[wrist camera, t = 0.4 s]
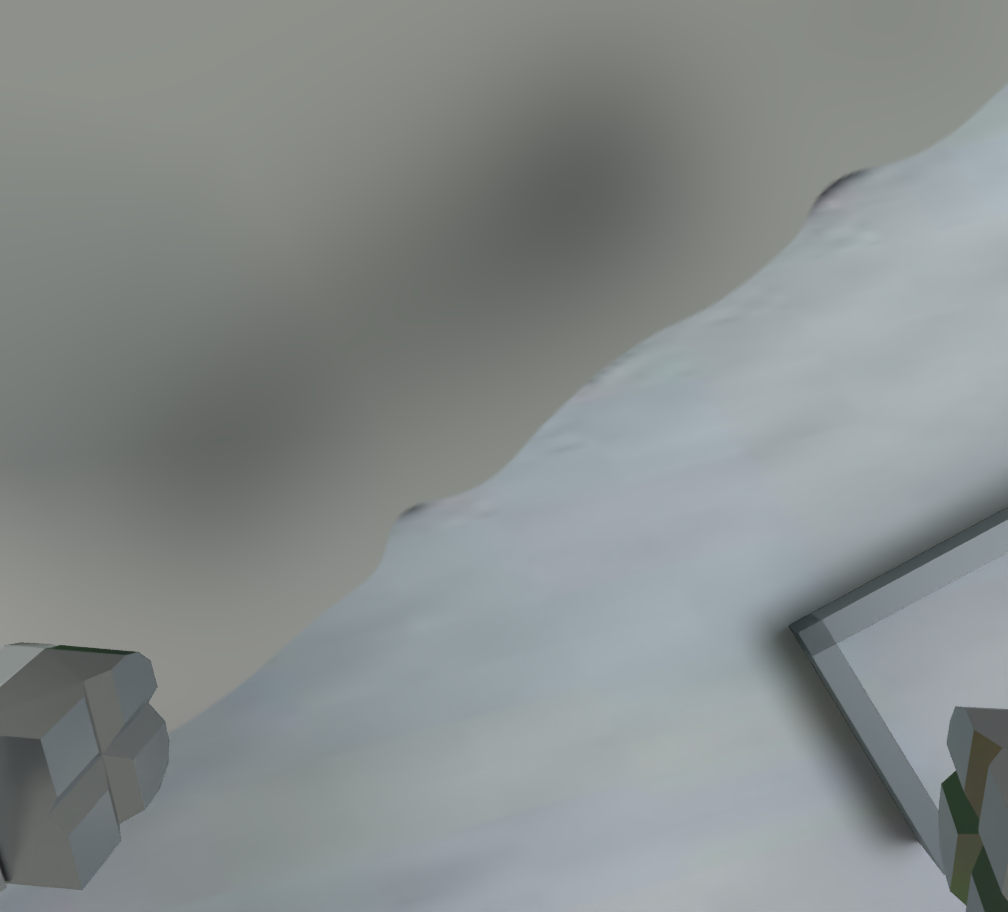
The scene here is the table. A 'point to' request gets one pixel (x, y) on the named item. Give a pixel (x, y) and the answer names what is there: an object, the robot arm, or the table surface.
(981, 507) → the table surface
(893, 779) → the box
